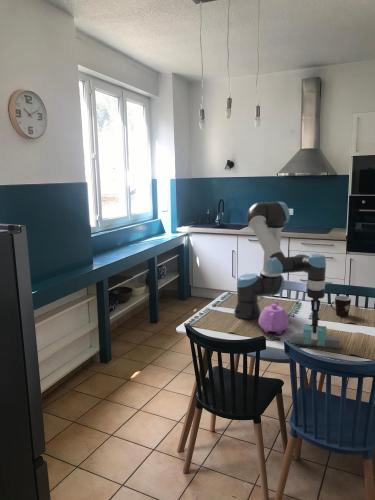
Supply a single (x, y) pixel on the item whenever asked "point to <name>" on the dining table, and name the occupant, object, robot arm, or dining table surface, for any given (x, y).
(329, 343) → the rail
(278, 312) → the teapot
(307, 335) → the clip
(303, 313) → the dining table surface
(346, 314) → the coffee mug
